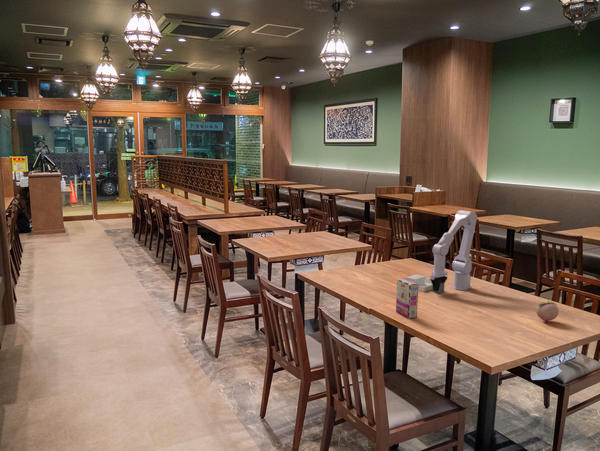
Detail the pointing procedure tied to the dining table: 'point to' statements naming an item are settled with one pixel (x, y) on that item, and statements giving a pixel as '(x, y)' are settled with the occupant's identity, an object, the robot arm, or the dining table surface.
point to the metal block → (440, 289)
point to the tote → (425, 285)
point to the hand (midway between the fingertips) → (438, 290)
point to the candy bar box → (407, 298)
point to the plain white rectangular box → (417, 279)
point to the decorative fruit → (547, 311)
